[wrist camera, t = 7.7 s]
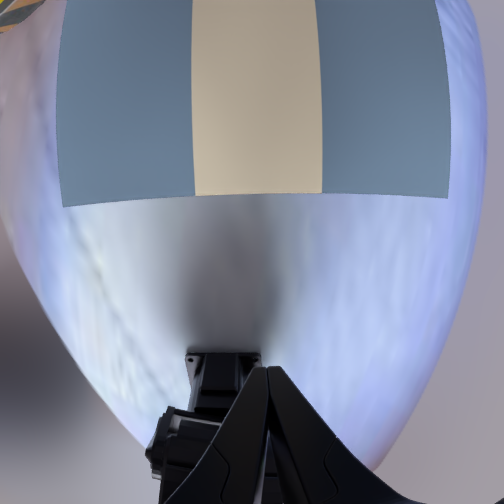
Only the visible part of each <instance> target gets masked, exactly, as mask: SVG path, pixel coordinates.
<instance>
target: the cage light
mask: <svg viewBox="0 0 504 504" xmlns="http://www.w3.org/2000/svg"><path fill="white" fill-rule="evenodd" d="M44 1H45V0H0V33H3V32H6V31H9V30H10V29H11V28H13V27H14V26H16V25H17V24H19V23H20V22H22V21H23V20H25V19H26V18H27V17H28V16H29V15H30V14H31V13H32V12H34V11H35V10H36V9H37V8H38V7H39V6H40V5H42V4H43V3H44Z"/></svg>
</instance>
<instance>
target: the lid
mask: <svg viewBox="0 0 504 504" xmlns="http://www.w3.org/2000/svg"><path fill="white" fill-rule="evenodd" d="M56 134H57V155H58V168H59V179H60V188H61V196H62V204H63V207H70V206H79V205H87V204H97V203H106V202H117V201H128V200H139V199H152V198H166V197H182V196H209V195H234V194H277V193H349V194H381V195H402V196H419V197H434V198H448V189H449V176H450V155H451V116H450V96H449V83H448V73H447V64H446V56H445V49H444V43H443V37H442V32H441V26H440V22H439V17H438V12H437V8H436V4H435V0H68V1H67V5H66V11H65V16H64V22H63V28H62V35H61V42H60V51H59V61H58V74H57V93H56Z"/></svg>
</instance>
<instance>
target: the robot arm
mask: <svg viewBox="0 0 504 504" xmlns="http://www.w3.org/2000/svg"><path fill="white" fill-rule="evenodd" d="M189 358H192V359H189ZM253 358H257V359H253ZM185 362H186V367H187V372H188V376H189V381H190V385H191V394H190V399H189V404H188V410H187V411H185V410H180V409H175V407H171V406H168V408H167V411H166V413H163V416H162V417H160V418H159V421H158V424H157V428H156V431H155V434H154V436H153V438H152V440H151V441H150V443H149V445H148V447H147V448H146V452H145V456H146V458H147V459H148V460H149V462H150V463H151V469H152V478H153V479H158V480H161V484H160V493H159V503H158V504H425V503H420V502H416V501H413V500H410V499H408V498H406V497H404V496H402V495H400V494H399V493H397V492H396V491H395V490H393V489H392V488H391V487H390V486H388V485H387V484H386V483H385V482H383V481H382V480H381V479H380V478H379V477H377V476H376V475H375V474H374V473H373V472H371V471H370V470H369V469H368V468H367V467H366V466H365V465H363V464H362V463H361V462H360V461H359V460H358V459H357V458H356V457H355V456H354V455H353V454H352V453H351V452H350V451H349V450H348V449H347V447H346V446H345V445H344V444H343V443H342V442H341V440H340V439H339V438H338V437H337V438H336V435H335V433H334V432H333V431H332V430H331V429H330V427H329V426H328V425H327V424H326V423H325V421H324V420H323V419H322V418H321V417H320V415H319V414H318V413H317V412H316V410H315V409H314V408H313V407H312V405H311V404H310V403H309V402H308V400H307V399H306V398H305V397H304V395H303V394H302V393H301V392H300V390H299V389H298V388H297V387H296V385H295V384H294V383H293V382H292V380H291V379H290V378H289V376H288V375H287V374H286V373H285V371H284V370H283V369H282V367H280V366H269V367H267V368H266V367H261V355H260V354H258V353H188V354H186V357H185ZM495 504H504V498H502V499H501V500H500V501H498V502H496V503H495Z"/></svg>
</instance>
